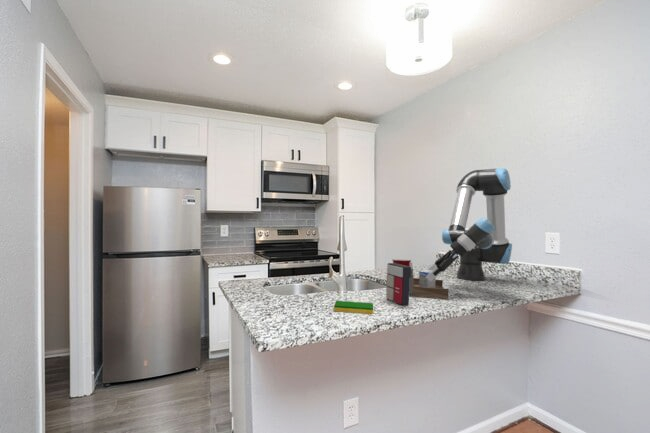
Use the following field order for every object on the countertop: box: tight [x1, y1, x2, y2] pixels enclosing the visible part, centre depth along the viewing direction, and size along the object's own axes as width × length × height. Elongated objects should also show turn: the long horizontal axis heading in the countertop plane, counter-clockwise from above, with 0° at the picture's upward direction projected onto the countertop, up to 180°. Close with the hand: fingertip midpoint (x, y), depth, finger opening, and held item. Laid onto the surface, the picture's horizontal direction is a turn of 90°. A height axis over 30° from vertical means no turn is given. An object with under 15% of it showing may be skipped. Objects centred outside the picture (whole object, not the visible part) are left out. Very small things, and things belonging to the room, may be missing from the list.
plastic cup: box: [391, 258, 412, 266], centre depth 171 cm, size 11×11×12 cm
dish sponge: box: [333, 300, 374, 315], centre depth 111 cm, size 7×14×2 cm, turn 81°
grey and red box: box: [385, 262, 411, 306], centre depth 124 cm, size 11×4×15 cm, turn 23°
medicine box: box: [418, 269, 437, 288], centre depth 142 cm, size 8×4×9 cm, turn 134°
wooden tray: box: [409, 262, 449, 300], centre depth 143 cm, size 22×16×12 cm
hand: (427, 276), depth 142 cm, fingers open, 13 cm apart
